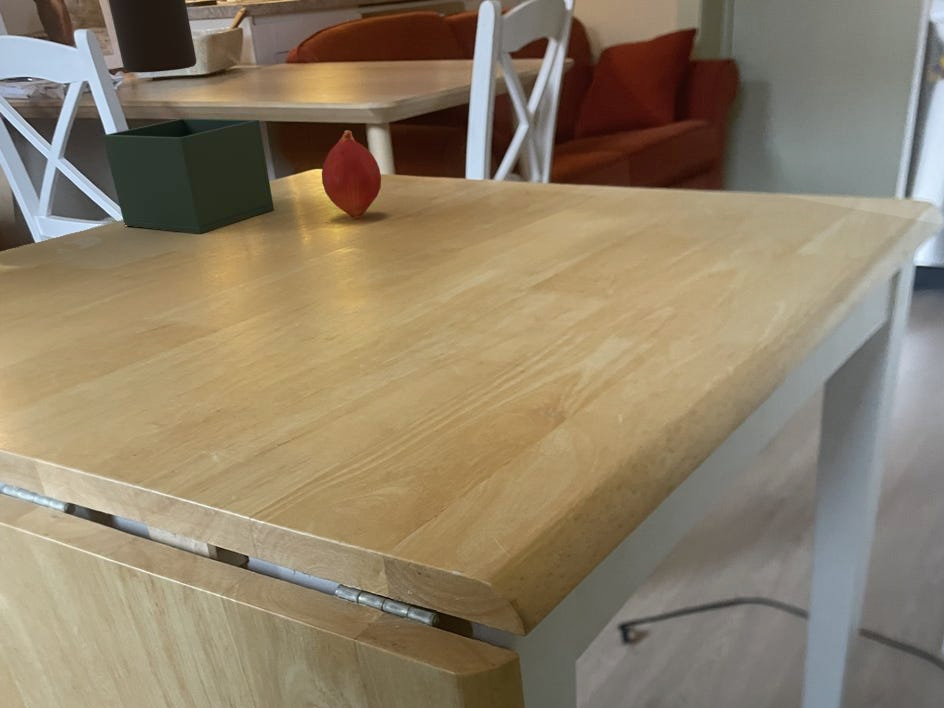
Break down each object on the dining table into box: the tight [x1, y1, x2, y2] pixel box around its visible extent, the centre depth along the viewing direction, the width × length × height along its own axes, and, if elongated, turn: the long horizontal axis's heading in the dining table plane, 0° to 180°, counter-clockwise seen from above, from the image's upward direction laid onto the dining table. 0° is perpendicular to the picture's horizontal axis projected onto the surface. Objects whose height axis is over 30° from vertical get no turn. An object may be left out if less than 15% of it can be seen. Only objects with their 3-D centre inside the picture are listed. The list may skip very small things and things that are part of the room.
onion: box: [321, 129, 382, 219], centre depth 99 cm, size 6×6×8 cm
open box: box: [102, 117, 275, 235], centre depth 104 cm, size 11×11×9 cm
